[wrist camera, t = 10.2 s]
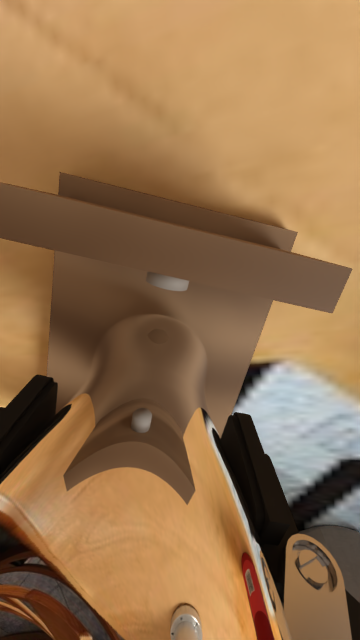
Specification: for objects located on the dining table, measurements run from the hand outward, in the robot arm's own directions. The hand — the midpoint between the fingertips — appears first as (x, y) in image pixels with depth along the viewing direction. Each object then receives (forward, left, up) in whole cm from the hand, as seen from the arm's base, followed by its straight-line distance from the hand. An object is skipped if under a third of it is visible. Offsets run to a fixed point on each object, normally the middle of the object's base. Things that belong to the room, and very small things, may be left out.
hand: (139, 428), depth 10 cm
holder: (0, 0, -7) cm, 7 cm away
